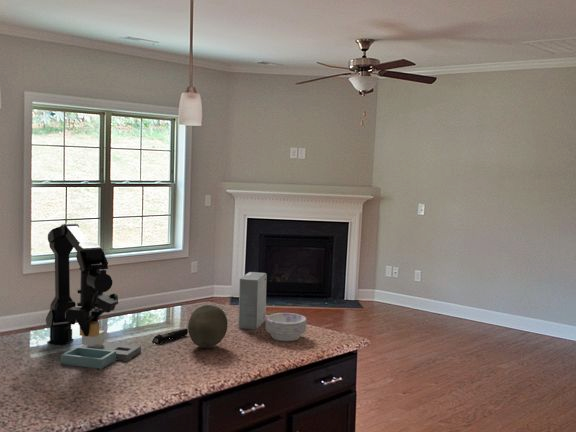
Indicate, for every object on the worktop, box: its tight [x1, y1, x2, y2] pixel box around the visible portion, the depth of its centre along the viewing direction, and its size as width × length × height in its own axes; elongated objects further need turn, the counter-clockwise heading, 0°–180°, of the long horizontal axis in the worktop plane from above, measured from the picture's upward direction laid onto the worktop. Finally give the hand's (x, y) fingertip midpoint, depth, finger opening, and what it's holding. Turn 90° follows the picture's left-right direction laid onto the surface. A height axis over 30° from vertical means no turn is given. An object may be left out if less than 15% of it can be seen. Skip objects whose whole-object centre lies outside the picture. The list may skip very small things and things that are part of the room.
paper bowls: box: [265, 312, 307, 342], centre depth 233 cm, size 15×15×8 cm
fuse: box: [88, 329, 106, 348], centre depth 208 cm, size 5×3×7 cm, turn 77°
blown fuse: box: [79, 321, 100, 346], centre depth 197 cm, size 5×3×7 cm, turn 77°
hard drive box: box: [237, 271, 268, 331], centre depth 250 cm, size 16×8×20 cm, turn 169°
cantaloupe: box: [187, 304, 228, 349], centre depth 217 cm, size 14×14×15 cm
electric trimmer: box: [151, 327, 189, 345], centre depth 226 cm, size 4×16×3 cm, turn 143°
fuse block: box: [80, 341, 142, 362], centre depth 207 cm, size 18×10×2 cm, turn 77°
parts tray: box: [60, 346, 117, 370], centre depth 198 cm, size 14×9×3 cm, turn 77°
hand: (89, 334), depth 197 cm, fingers closed on blown fuse, 3 cm apart
